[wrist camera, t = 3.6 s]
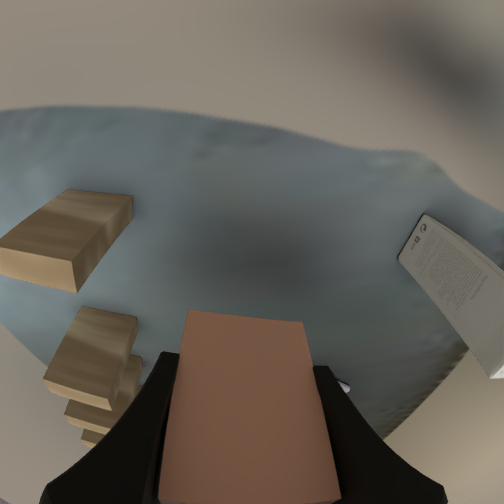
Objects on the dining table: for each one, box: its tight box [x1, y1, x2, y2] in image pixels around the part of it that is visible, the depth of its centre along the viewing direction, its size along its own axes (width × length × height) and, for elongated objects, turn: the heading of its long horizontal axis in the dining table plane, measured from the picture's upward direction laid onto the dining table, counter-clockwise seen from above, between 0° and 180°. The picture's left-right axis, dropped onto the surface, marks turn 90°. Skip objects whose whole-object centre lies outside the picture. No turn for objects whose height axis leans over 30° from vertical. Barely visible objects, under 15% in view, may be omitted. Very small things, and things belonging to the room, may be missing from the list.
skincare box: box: [398, 215, 504, 379], centre depth 14 cm, size 6×4×12 cm
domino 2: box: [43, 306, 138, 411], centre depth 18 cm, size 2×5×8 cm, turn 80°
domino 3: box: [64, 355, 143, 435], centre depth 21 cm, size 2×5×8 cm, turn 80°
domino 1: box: [0, 190, 132, 293], centre depth 14 cm, size 2×5×8 cm, turn 80°
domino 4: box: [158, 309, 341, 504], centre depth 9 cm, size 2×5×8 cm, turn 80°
